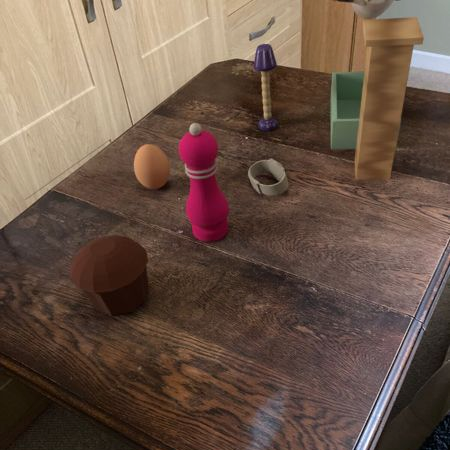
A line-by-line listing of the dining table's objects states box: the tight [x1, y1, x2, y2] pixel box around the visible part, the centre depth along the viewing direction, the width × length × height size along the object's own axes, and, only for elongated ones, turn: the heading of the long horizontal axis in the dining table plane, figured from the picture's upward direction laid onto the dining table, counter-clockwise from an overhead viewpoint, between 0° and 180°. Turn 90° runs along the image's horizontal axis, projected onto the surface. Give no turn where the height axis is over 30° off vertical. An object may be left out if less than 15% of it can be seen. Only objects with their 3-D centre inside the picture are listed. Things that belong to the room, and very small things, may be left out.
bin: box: [330, 70, 402, 150], centre depth 103 cm, size 13×22×6 cm, turn 172°
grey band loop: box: [247, 157, 290, 196], centre depth 91 cm, size 9×6×5 cm
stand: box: [354, 16, 425, 181], centre depth 83 cm, size 8×8×26 cm
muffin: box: [69, 234, 149, 317], centre depth 74 cm, size 12×11×10 cm
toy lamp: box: [253, 43, 278, 132], centre depth 103 cm, size 5×5×17 cm
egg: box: [133, 143, 171, 190], centre depth 94 cm, size 7×7×9 cm
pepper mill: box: [178, 122, 230, 243], centre depth 79 cm, size 7×7×20 cm
